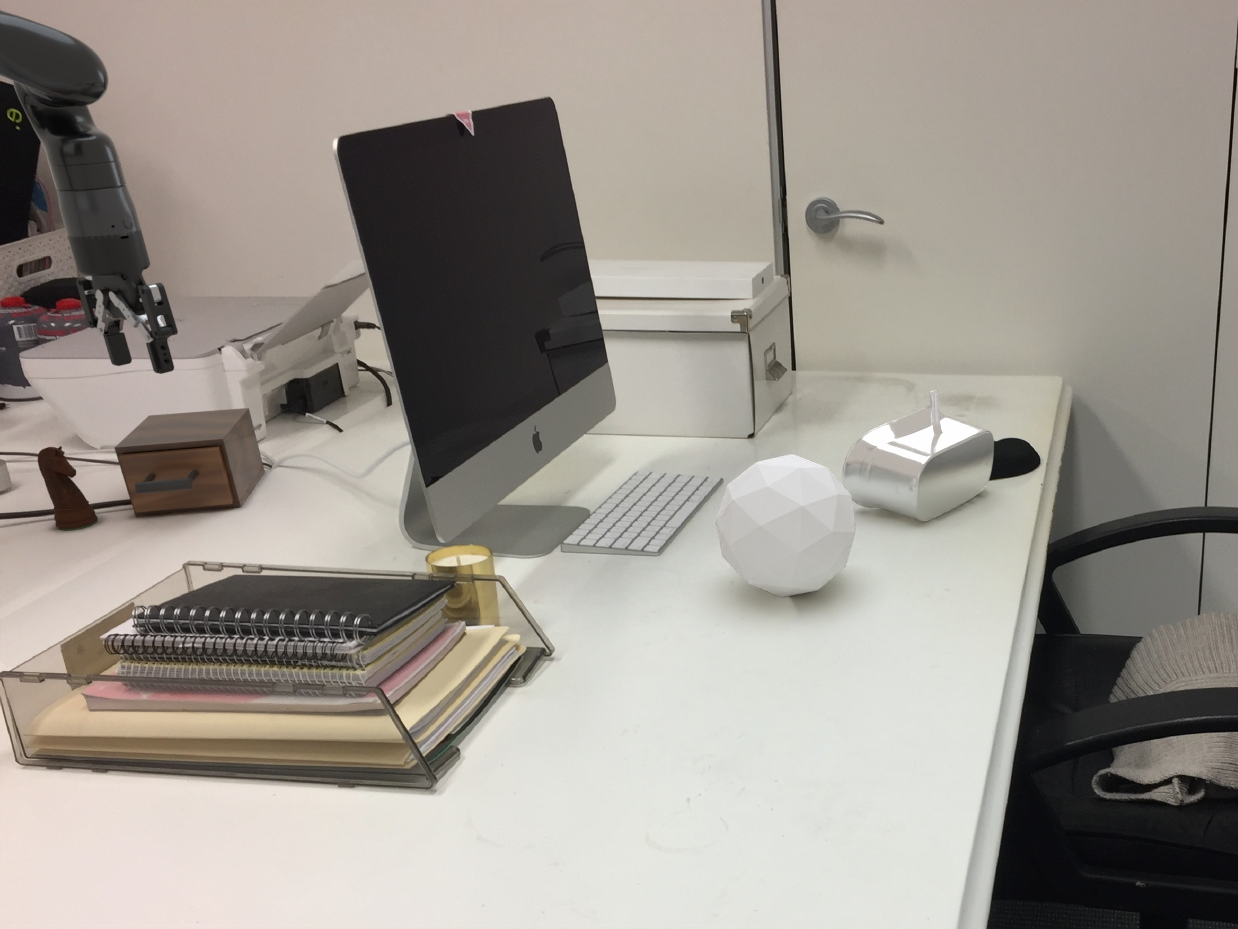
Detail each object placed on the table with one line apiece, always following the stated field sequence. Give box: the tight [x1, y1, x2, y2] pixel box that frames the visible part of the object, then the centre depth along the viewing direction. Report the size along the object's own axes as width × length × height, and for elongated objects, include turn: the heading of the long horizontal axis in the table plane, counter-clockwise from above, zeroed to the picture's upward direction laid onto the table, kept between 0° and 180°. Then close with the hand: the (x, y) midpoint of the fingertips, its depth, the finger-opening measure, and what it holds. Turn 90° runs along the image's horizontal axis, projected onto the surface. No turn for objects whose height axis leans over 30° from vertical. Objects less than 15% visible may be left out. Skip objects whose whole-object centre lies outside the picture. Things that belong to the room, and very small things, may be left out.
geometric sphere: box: [715, 453, 857, 598], centre depth 130 cm, size 14×15×15 cm
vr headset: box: [842, 389, 995, 522], centre depth 153 cm, size 18×11×14 cm, turn 142°
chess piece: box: [37, 445, 99, 531], centre depth 154 cm, size 5×5×10 cm
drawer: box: [119, 445, 234, 512], centre depth 159 cm, size 19×11×7 cm, turn 12°
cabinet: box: [114, 407, 266, 517], centre depth 163 cm, size 15×13×9 cm
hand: (143, 368), depth 150 cm, fingers open, 8 cm apart
